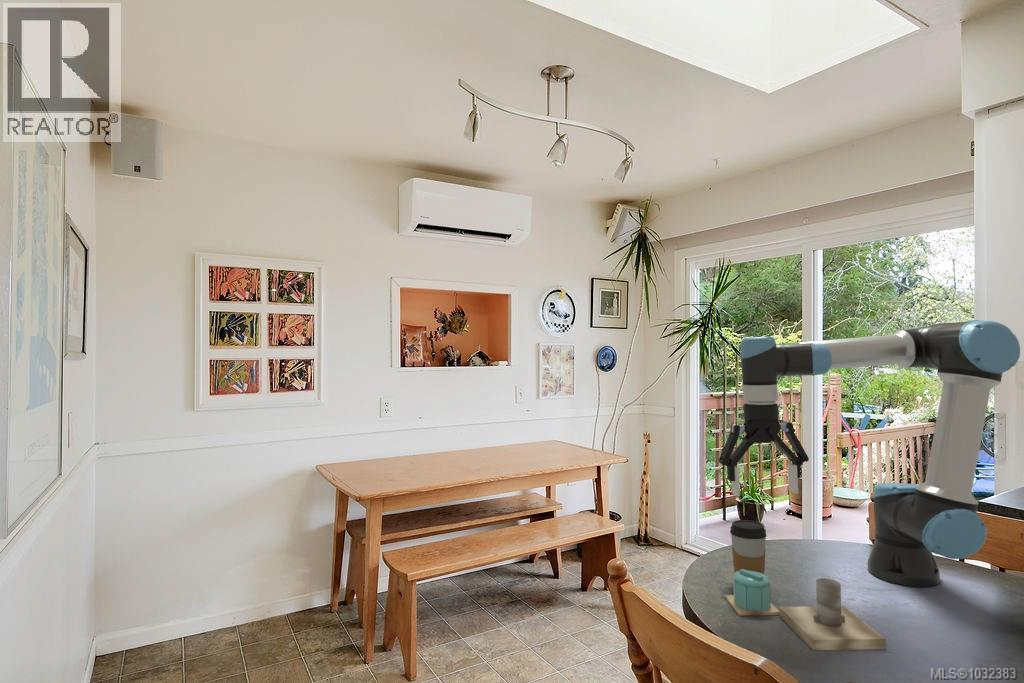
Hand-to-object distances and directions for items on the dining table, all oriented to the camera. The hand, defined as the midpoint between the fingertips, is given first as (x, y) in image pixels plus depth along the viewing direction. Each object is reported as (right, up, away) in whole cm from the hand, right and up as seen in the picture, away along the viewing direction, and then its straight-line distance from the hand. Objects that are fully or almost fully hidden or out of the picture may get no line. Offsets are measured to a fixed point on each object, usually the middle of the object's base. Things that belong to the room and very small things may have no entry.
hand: (764, 493), depth 132 cm
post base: (+6, -24, -16) cm, 29 cm away
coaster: (-5, -24, -4) cm, 25 cm away
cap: (-5, -24, -4) cm, 25 cm away
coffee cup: (-1, -25, +7) cm, 26 cm away
